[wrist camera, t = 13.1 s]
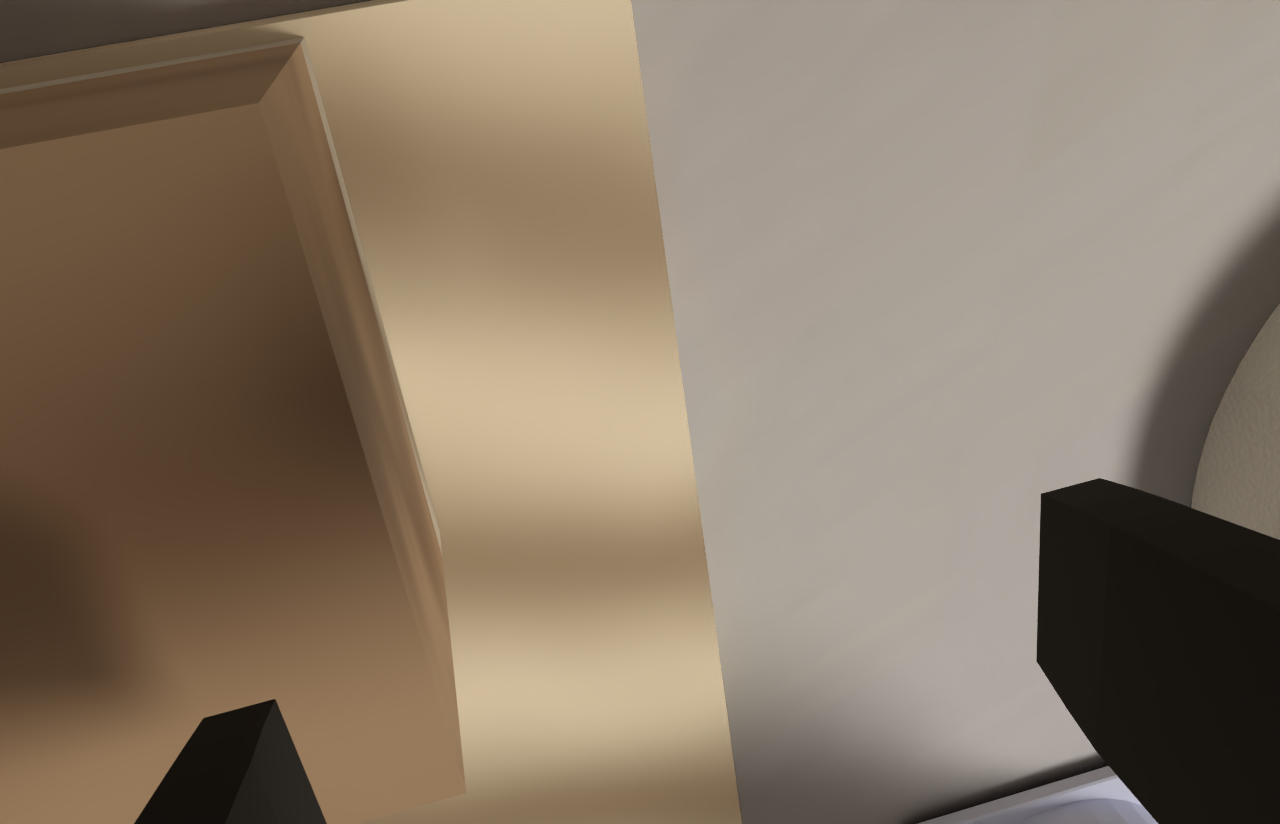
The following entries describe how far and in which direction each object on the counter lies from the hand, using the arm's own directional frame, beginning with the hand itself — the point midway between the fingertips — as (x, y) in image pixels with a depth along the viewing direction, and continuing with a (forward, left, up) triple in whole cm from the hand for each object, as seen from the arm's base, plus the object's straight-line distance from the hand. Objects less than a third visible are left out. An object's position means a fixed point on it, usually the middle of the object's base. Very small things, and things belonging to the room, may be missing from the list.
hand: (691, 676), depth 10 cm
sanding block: (+1, +5, -8) cm, 10 cm away
